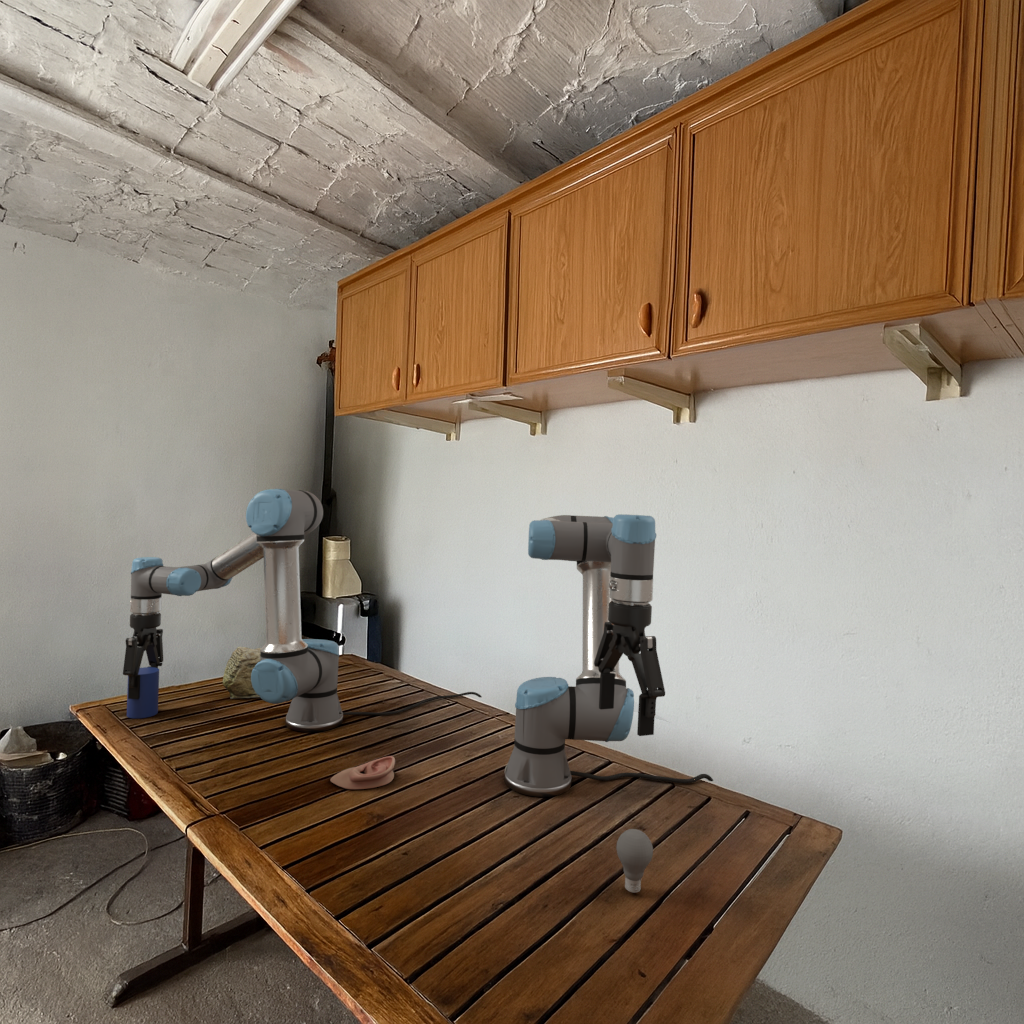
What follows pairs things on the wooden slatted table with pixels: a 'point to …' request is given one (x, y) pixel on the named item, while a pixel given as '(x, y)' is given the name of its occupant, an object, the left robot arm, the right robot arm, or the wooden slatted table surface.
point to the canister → (145, 694)
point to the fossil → (241, 672)
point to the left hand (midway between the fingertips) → (143, 693)
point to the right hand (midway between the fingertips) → (624, 721)
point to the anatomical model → (366, 774)
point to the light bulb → (634, 857)
